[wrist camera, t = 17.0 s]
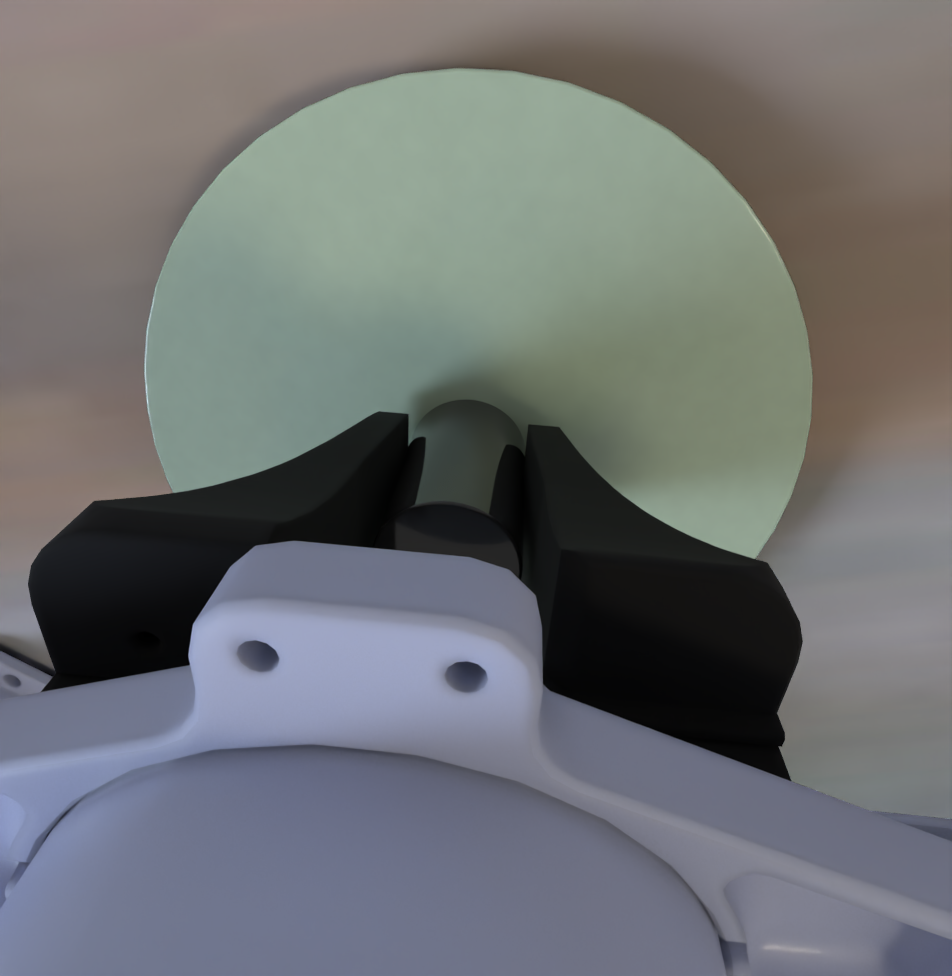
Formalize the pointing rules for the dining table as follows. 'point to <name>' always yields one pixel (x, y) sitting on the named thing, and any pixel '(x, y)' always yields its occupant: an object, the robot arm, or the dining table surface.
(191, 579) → the robot arm
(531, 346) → the pot lid
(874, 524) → the dining table surface
